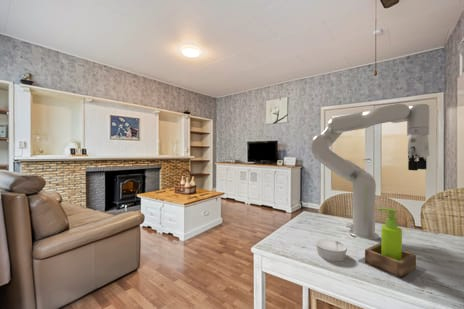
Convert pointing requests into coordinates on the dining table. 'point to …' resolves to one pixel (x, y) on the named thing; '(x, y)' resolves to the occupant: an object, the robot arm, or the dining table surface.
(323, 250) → the ramekin
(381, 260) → the walnut box
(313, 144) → the robot arm
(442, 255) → the dining table surface
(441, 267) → the dining table surface
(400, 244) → the soap dispenser
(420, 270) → the pale grey square slab
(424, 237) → the dining table surface
